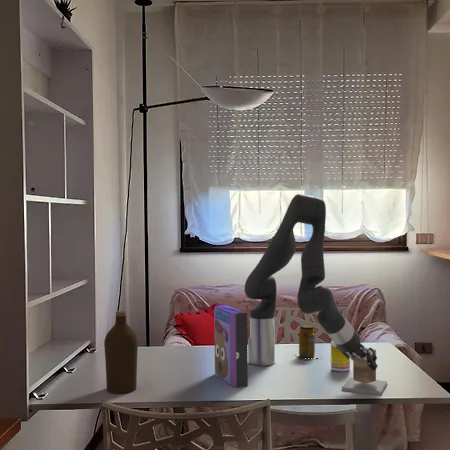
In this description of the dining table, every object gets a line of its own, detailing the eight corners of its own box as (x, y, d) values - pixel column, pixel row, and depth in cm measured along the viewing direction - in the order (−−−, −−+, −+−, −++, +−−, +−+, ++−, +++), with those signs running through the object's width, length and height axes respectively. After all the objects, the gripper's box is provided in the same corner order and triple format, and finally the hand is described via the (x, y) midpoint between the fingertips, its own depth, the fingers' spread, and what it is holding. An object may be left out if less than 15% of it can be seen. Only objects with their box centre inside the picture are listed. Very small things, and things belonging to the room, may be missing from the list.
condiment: (312, 354, 227) (311, 324, 227) (320, 359, 219) (319, 328, 219) (294, 355, 226) (294, 325, 226) (302, 360, 217) (302, 329, 217)
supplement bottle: (350, 372, 200) (349, 336, 200) (330, 371, 201) (330, 335, 201) (349, 367, 207) (349, 332, 206) (331, 366, 208) (330, 331, 208)
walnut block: (365, 383, 179) (365, 351, 179) (353, 380, 183) (353, 349, 183) (375, 380, 182) (375, 349, 182) (363, 377, 186) (363, 346, 186)
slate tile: (341, 390, 180) (341, 387, 180) (350, 380, 191) (350, 377, 191) (380, 394, 175) (380, 391, 175) (386, 384, 186) (386, 381, 186)
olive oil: (131, 395, 176) (130, 314, 176) (99, 393, 179) (98, 313, 178) (143, 385, 187) (142, 309, 186) (113, 383, 189) (112, 308, 189)
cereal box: (214, 374, 199) (214, 305, 199) (227, 372, 201) (226, 304, 201) (234, 387, 183) (233, 313, 183) (247, 386, 185) (247, 312, 185)
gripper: (366, 327, 172) (392, 361, 179) (331, 321, 184) (356, 353, 191) (354, 347, 169) (381, 381, 176) (319, 339, 181) (346, 371, 188)
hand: (368, 366), depth 183 cm, fingers closed on walnut block, 5 cm apart
